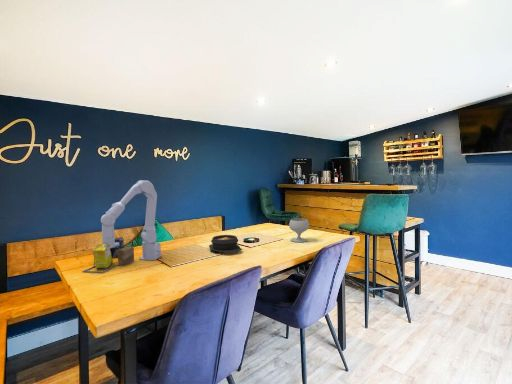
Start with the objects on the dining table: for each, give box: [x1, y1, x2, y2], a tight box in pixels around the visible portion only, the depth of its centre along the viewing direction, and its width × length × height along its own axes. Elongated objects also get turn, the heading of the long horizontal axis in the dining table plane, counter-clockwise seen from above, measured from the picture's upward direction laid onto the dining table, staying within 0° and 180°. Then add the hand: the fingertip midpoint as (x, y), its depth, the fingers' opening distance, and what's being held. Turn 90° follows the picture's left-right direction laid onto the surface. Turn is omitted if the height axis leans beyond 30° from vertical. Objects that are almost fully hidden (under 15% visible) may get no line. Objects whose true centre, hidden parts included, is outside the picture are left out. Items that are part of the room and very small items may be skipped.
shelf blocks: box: [93, 246, 135, 267], centre depth 152 cm, size 18×8×8 cm, turn 80°
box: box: [112, 236, 125, 259], centre depth 164 cm, size 8×6×11 cm
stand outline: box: [81, 264, 119, 274], centre depth 142 cm, size 11×11×1 cm
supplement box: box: [91, 243, 113, 270], centre depth 143 cm, size 6×6×11 cm
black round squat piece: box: [208, 234, 242, 254], centre depth 176 cm, size 25×19×8 cm
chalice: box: [288, 218, 310, 243], centre depth 201 cm, size 14×14×15 cm
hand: (109, 262), depth 148 cm, fingers closed, pressing on supplement box
